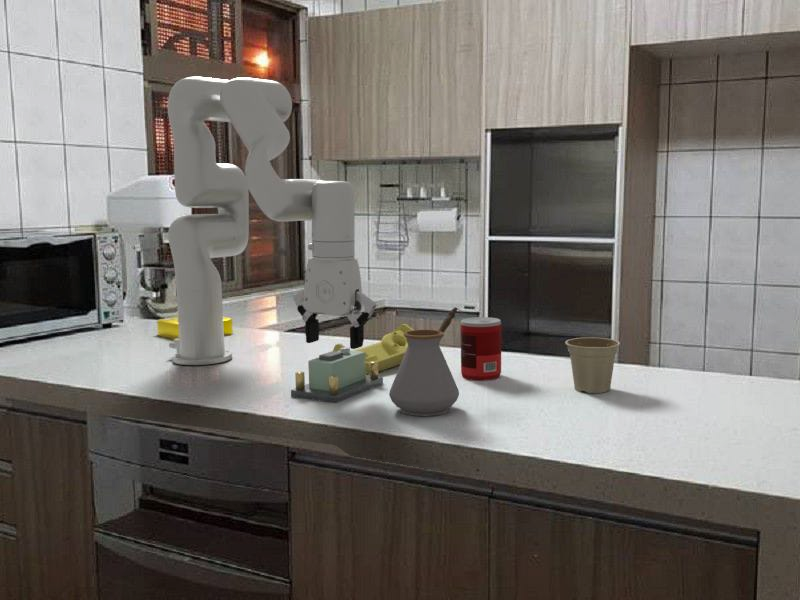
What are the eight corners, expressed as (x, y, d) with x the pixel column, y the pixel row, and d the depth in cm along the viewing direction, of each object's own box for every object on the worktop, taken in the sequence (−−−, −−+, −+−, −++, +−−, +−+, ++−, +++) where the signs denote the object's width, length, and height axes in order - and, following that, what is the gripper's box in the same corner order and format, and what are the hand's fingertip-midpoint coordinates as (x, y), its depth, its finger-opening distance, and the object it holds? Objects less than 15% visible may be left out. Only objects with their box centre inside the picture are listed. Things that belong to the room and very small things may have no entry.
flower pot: (589, 399, 135) (589, 349, 134) (554, 387, 143) (554, 340, 142) (630, 391, 139) (631, 343, 138) (594, 381, 147) (595, 335, 146)
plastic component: (365, 366, 153) (332, 339, 159) (357, 396, 157) (325, 368, 162) (432, 343, 167) (399, 319, 173) (422, 371, 171) (391, 347, 176)
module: (309, 388, 141) (308, 355, 140) (343, 375, 150) (342, 344, 149) (332, 391, 138) (331, 357, 137) (365, 378, 148) (365, 346, 147)
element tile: (235, 334, 206) (235, 316, 206) (184, 343, 196) (183, 324, 195) (205, 328, 217) (204, 311, 216) (155, 336, 206) (153, 318, 206)
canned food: (506, 373, 155) (506, 318, 153) (493, 382, 148) (493, 324, 146) (469, 370, 158) (469, 316, 156) (455, 379, 151) (454, 322, 149)
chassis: (291, 396, 140) (290, 373, 139) (340, 378, 153) (340, 356, 153) (335, 402, 135) (335, 378, 135) (383, 383, 148) (382, 361, 148)
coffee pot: (443, 422, 122) (442, 327, 120) (377, 415, 127) (375, 323, 125) (488, 390, 141) (487, 308, 139) (428, 385, 146) (427, 305, 144)
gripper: (281, 250, 142) (283, 343, 145) (363, 255, 133) (363, 354, 136) (306, 246, 148) (308, 336, 151) (385, 251, 140) (385, 346, 143)
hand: (334, 344), depth 144 cm, fingers open, 9 cm apart
